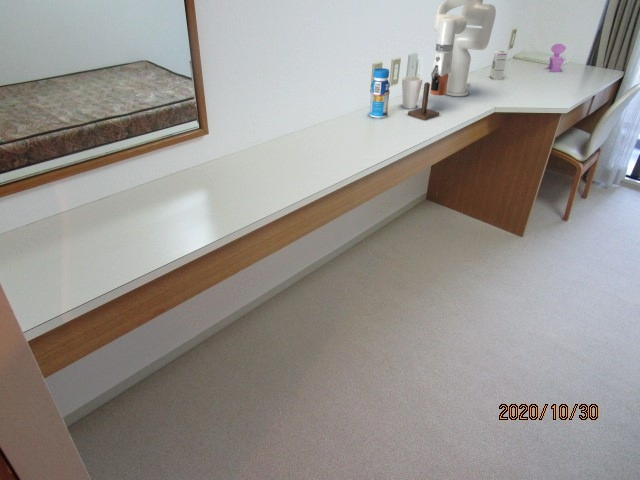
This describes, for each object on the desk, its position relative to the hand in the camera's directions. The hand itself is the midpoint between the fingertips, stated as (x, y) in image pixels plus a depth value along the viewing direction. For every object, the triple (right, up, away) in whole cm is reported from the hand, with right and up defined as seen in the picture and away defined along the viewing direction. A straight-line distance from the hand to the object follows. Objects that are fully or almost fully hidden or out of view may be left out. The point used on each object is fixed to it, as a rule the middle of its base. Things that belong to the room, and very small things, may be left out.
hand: (438, 88), depth 209 cm
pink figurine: (+91, +35, +71) cm, 121 cm away
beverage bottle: (-29, -14, -4) cm, 32 cm away
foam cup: (-12, -6, +8) cm, 16 cm away
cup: (0, -2, +1) cm, 2 cm away
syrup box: (+48, +25, +55) cm, 77 cm away
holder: (-8, -13, -4) cm, 16 cm away
